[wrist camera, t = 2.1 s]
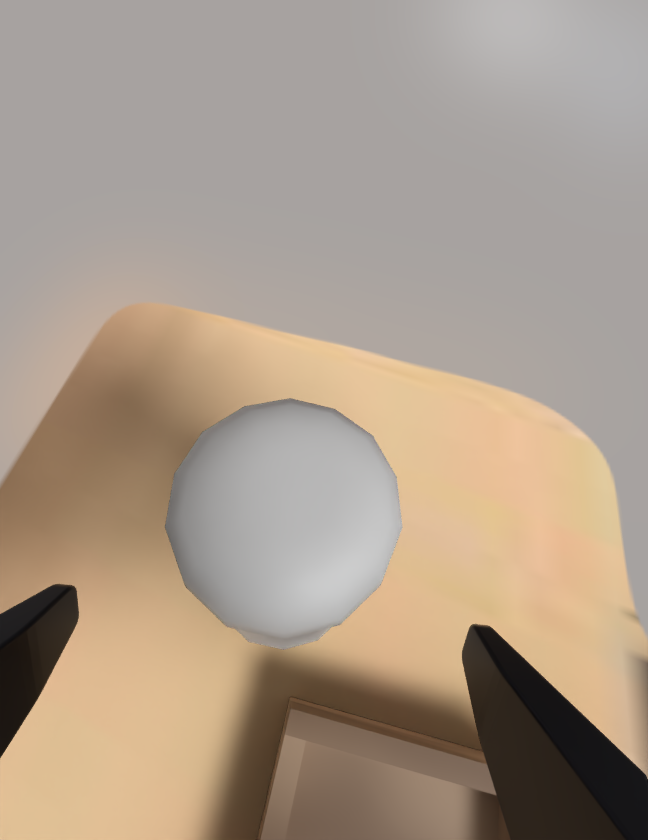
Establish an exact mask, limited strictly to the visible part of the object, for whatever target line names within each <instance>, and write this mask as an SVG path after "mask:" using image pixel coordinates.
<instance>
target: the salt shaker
mask: <svg viewBox="0 0 648 840" xmlns="http://www.w3.org/2000/svg"><path fill="white" fill-rule="evenodd" d="M165 528H166V531H167V534H168V537H169V540H170V543H171V546H172V549H173V552H174V555H175V558H176V561H177V564H178V567H179V570H180V573H181V575H182V578H183V581H184V584H185V586H186V588H187V589H188V590H189V591H190V592H191V593H192V594H193V595H194V596H195V597H196V598H197V599H199V600H200V601H201V602H202V603H203V604H204V605H205V606H206V607H207V608H208V609H209V610H210V611H211V612H212V613H213V614H214V615H215V616H216V617H217V618H218V619H219V620H220V621H221V622H222V623H223V624H224V625H226V626H227V627H230V628H234V629H236V630H237V631H238V632H239V633H240V634H241V635H242V636H243V637H244V638H245V639H246V640H247V641H248V642H251V643H256V644H260V645H265V646H269V647H274V648H278V649H283V650H284V649H288V648H292V647H295V646H299V645H303V644H306V643H310V642H314V641H317V640H319V639H320V638H321V637H322V636H323V635H324V634H325V633H326V632H327V631H328V630H329V629H330V628H331V627H334V626H337V625H340V624H341V623H342V622H343V621H344V620H345V619H346V618H347V617H348V616H350V615H351V614H352V613H353V612H354V611H355V610H356V609H357V608H358V607H359V606H360V605H361V604H362V603H363V602H364V601H365V600H366V599H367V598H368V597H369V596H370V595H371V594H372V593H373V592H374V591H375V590H376V589H377V588H378V587H379V586H380V585H381V583H382V580H383V577H384V575H385V572H386V569H387V567H388V564H389V561H390V559H391V556H392V553H393V551H394V548H395V546H396V543H397V540H398V538H399V535H400V532H401V530H402V520H401V512H400V503H399V494H398V485H397V477H396V475H395V473H394V472H393V470H392V468H391V467H390V465H389V463H388V461H387V460H386V458H385V456H384V454H383V453H382V451H381V449H380V447H379V446H378V444H377V442H376V440H375V439H374V437H373V436H372V435H371V434H370V433H368V432H367V431H365V430H364V429H362V428H361V427H360V426H358V425H357V424H355V423H354V422H353V421H351V420H350V419H348V418H347V417H345V416H344V415H343V414H341V413H340V412H338V411H337V410H335V409H332V408H328V407H324V406H320V405H316V404H312V403H307V402H303V401H299V400H295V399H291V398H289V399H284V400H278V401H273V402H267V403H261V404H256V405H250V406H245V407H243V408H241V409H239V410H238V411H236V412H234V413H233V414H231V415H229V416H228V417H226V418H225V419H223V420H221V421H220V422H218V423H216V424H215V425H213V426H211V427H210V428H208V429H207V430H205V431H203V432H202V433H201V435H200V436H199V438H198V439H197V441H196V442H195V444H194V445H193V447H192V448H191V450H190V451H189V453H188V454H187V456H186V457H185V459H184V460H183V462H182V463H181V465H180V466H179V468H178V469H177V471H176V472H175V474H174V479H173V484H172V490H171V496H170V501H169V507H168V513H167V518H166V524H165Z"/></svg>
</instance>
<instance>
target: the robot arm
mask: <svg viewBox="0 0 648 840" xmlns="http://www.w3.org/2000/svg"><path fill="white" fill-rule="evenodd" d="M78 618H79V609H78V599H77V591H76V588H75V587H74V586H72V585H64V584H55V585H52V586H50V587H48V588H46V589H45V590H43V591H41V592H39V593H37V594H36V595H34V596H32V597H30V598H28V599H27V600H25V601H23V602H21V603H19V604H18V605H16V606H14V607H12V608H10V609H9V610H7V611H5V612H3V613H1V614H0V758H1V756H2V755H3V753H4V752H5V750H6V748H7V747H8V745H9V744H10V742H11V741H12V739H13V737H14V736H15V734H16V733H17V731H18V730H19V728H20V726H21V725H22V723H23V722H24V720H25V719H26V717H27V715H28V714H29V712H30V711H31V709H32V707H33V706H34V704H35V702H36V701H37V699H38V697H39V696H40V694H41V692H42V690H43V688H44V686H45V685H46V683H47V681H48V679H49V677H50V675H51V673H52V671H53V669H54V667H55V665H56V663H57V661H58V659H59V658H60V656H61V654H62V652H63V650H64V648H65V646H66V644H67V642H68V640H69V638H70V636H71V634H72V632H73V630H74V629H75V627H76V624H77V622H78ZM462 661H463V666H464V671H465V676H466V681H467V685H468V690H469V695H470V699H471V704H472V709H473V714H474V718H475V723H476V727H477V731H478V736H479V739H480V743H481V746H482V750H483V753H484V756H485V760H486V763H487V766H488V769H489V772H490V776H491V779H492V782H493V785H494V789H495V792H496V795H497V798H498V801H499V805H500V808H501V811H502V814H503V818H504V821H505V824H506V827H507V831H508V834H509V837H510V840H648V779H647V777H646V775H645V774H644V773H643V772H642V771H641V770H640V769H639V768H638V767H637V766H636V765H635V764H634V763H633V762H632V761H631V760H630V759H629V758H628V757H627V756H626V755H625V754H624V753H623V752H621V751H620V750H619V749H618V748H617V747H616V746H615V745H614V744H613V743H612V742H611V741H610V740H609V739H608V738H607V737H606V736H605V735H604V734H603V733H602V732H601V731H599V730H598V729H597V728H596V727H595V726H594V725H593V724H592V723H591V722H590V721H589V720H588V719H587V718H586V717H585V716H584V715H583V714H582V713H581V712H580V711H579V710H577V709H576V708H575V707H574V706H573V705H572V704H571V703H570V702H569V701H568V700H567V699H566V698H565V697H564V696H563V695H562V694H561V693H560V692H559V691H558V690H557V689H555V688H554V687H553V686H552V685H551V684H550V683H549V682H548V681H547V680H546V679H545V678H544V677H543V676H542V675H541V674H540V673H539V672H538V671H537V670H536V669H535V668H533V667H532V666H531V665H530V664H529V663H528V662H527V661H526V660H525V659H524V658H523V657H522V656H521V655H520V654H519V653H518V652H517V651H516V650H515V649H514V648H513V647H511V646H510V645H509V644H508V643H507V642H506V641H505V640H504V639H503V638H502V637H501V636H500V635H499V634H498V633H497V632H496V631H495V630H494V629H493V628H491V627H490V626H487V625H478V624H473V625H471V626H470V628H469V630H468V634H467V637H466V640H465V643H464V647H463V650H462Z"/></svg>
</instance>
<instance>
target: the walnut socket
mask: <svg viewBox="0 0 648 840" xmlns="http://www.w3.org/2000/svg"><path fill="white" fill-rule="evenodd" d="M257 840H510V837H509V834H508V831H507V827H506V824H505V821H504V818H503V814H502V811H501V808H500V805H499V801H498V798H497V795H496V792H495V789H494V785H493V782H492V779H491V776H490V772H489V769H488V766H487V763H486V760H485V756H484V753H483V751H480V750H476V749H472V748H469V747H465V746H462V745H458V744H455V743H451V742H448V741H444V740H441V739H437V738H434V737H430V736H427V735H423V734H420V733H416V732H413V731H409V730H406V729H402V728H399V727H395V726H391V725H388V724H384V723H381V722H377V721H374V720H370V719H367V718H363V717H360V716H356V715H353V714H349V713H346V712H342V711H339V710H335V709H332V708H328V707H325V706H321V705H318V704H314V703H310V702H307V701H303V700H300V699H296V698H293V697H290V700H289V704H288V709H287V713H286V717H285V721H284V726H283V730H282V734H281V738H280V743H279V747H278V751H277V756H276V760H275V764H274V768H273V773H272V777H271V781H270V785H269V790H268V794H267V798H266V802H265V807H264V811H263V815H262V819H261V824H260V828H259V832H258V836H257Z"/></svg>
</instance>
